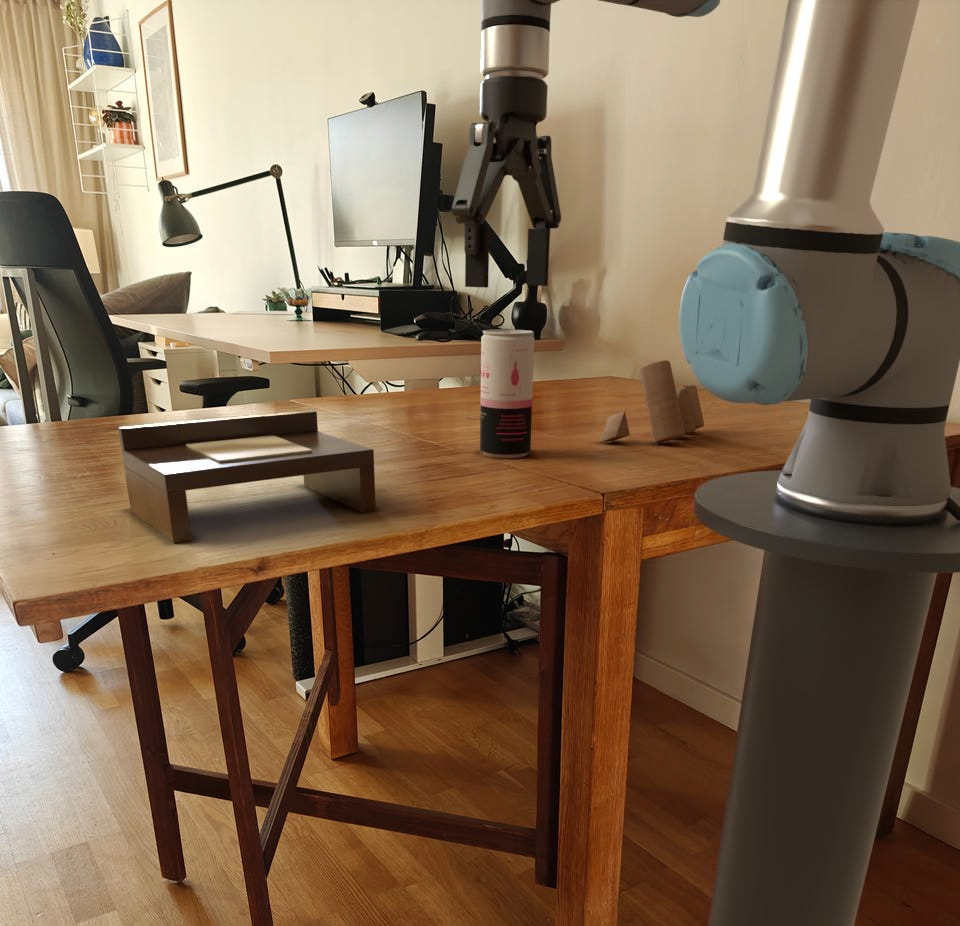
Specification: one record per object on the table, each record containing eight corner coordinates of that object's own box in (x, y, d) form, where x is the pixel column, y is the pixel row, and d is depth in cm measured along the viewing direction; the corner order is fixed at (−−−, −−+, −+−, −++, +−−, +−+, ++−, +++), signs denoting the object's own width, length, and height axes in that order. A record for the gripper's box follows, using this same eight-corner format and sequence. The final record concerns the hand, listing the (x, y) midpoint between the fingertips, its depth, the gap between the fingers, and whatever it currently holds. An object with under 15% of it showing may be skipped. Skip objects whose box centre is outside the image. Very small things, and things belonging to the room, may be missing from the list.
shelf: (376, 510, 85) (373, 428, 82) (173, 543, 74) (161, 450, 71) (317, 484, 95) (312, 410, 92) (130, 510, 84) (117, 427, 81)
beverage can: (528, 449, 115) (533, 329, 109) (531, 459, 109) (536, 333, 103) (479, 448, 115) (481, 329, 109) (480, 458, 109) (481, 332, 103)
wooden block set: (681, 445, 131) (667, 378, 130) (729, 429, 124) (715, 358, 123) (602, 455, 120) (586, 381, 119) (650, 438, 113) (634, 360, 112)
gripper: (541, 99, 107) (534, 284, 115) (418, 62, 88) (420, 286, 96) (595, 94, 103) (584, 285, 112) (479, 54, 84) (475, 289, 93)
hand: (508, 286), depth 104 cm, fingers open, 13 cm apart
